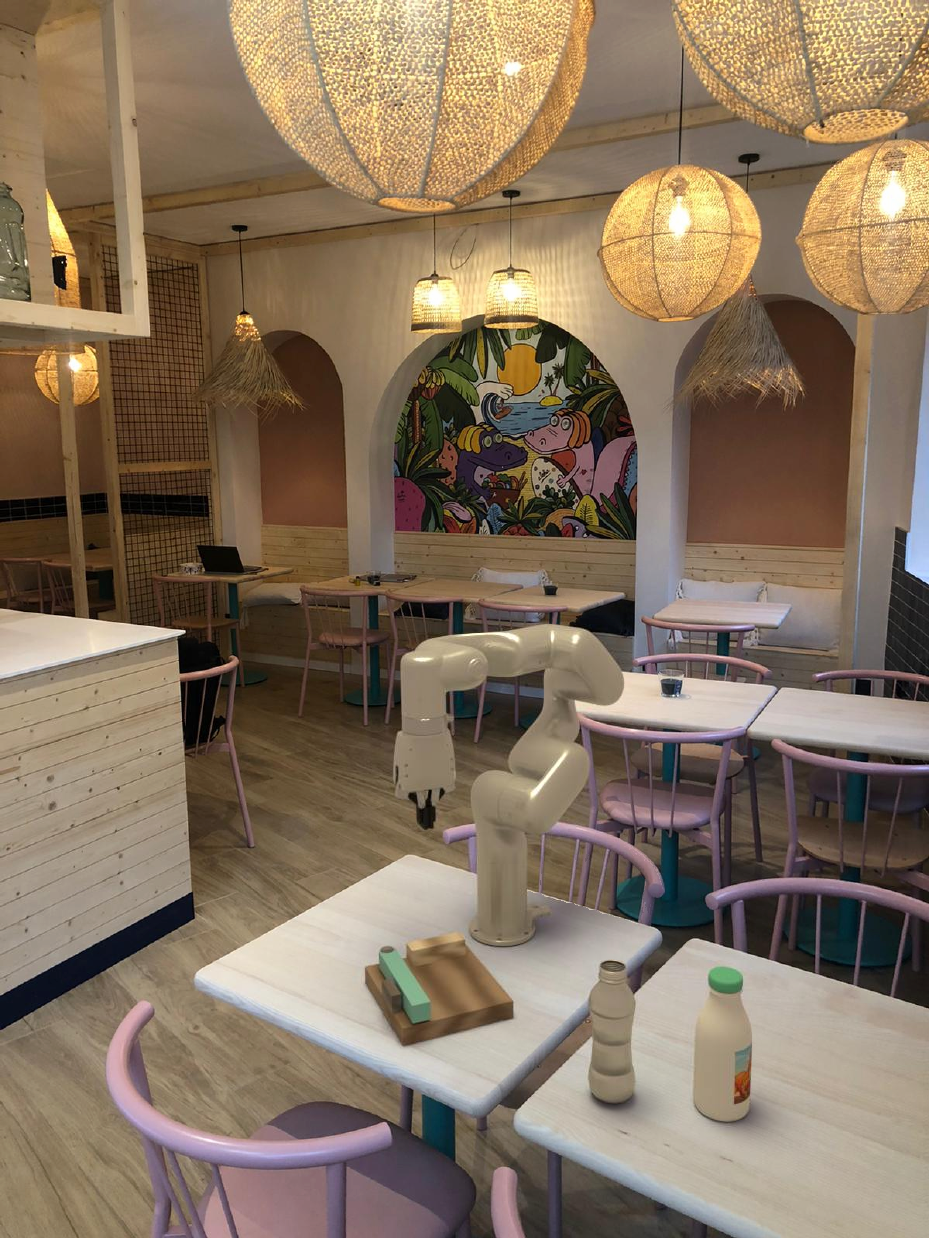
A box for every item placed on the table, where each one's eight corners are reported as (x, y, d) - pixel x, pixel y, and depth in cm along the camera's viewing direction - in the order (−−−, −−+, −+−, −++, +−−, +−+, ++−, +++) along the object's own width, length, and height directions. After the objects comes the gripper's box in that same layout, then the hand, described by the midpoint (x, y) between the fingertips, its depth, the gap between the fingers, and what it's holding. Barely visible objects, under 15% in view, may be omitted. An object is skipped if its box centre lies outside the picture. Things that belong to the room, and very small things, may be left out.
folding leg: (377, 964, 169) (376, 948, 169) (393, 960, 171) (393, 944, 170) (412, 1023, 152) (412, 1005, 151) (430, 1019, 153) (430, 1001, 152)
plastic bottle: (634, 1112, 136) (637, 980, 132) (585, 1106, 137) (586, 975, 134) (635, 1083, 142) (638, 956, 139) (589, 1078, 144) (590, 952, 140)
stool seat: (465, 959, 177) (465, 928, 176) (513, 1017, 159) (513, 983, 158) (364, 982, 170) (363, 950, 169) (401, 1046, 152) (400, 1010, 151)
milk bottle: (715, 1129, 132) (720, 994, 129) (681, 1096, 139) (685, 966, 136) (761, 1113, 135) (767, 981, 132) (725, 1081, 142) (730, 954, 139)
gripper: (456, 713, 172) (458, 812, 175) (375, 723, 166) (378, 825, 169) (473, 724, 165) (474, 827, 168) (389, 735, 159) (392, 841, 162)
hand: (426, 826), depth 169 cm, fingers closed
